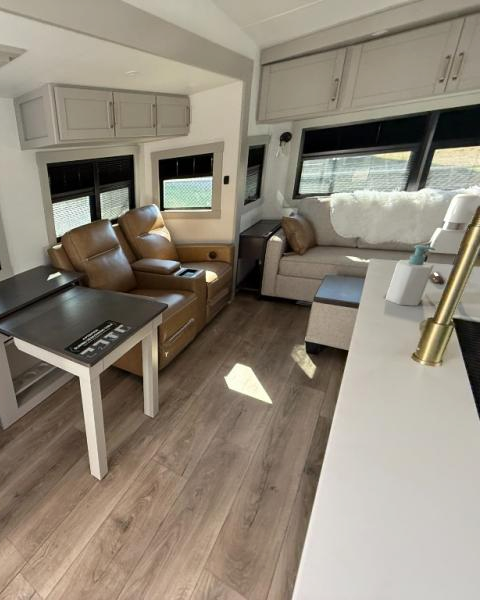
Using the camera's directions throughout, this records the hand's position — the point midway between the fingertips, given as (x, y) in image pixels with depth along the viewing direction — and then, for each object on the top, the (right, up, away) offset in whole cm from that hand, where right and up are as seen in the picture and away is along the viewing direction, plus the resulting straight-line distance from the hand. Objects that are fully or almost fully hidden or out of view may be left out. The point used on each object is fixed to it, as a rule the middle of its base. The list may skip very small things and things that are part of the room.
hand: (438, 265), depth 137 cm
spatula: (+2, -6, +4) cm, 7 cm away
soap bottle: (-29, -16, -13) cm, 35 cm away
